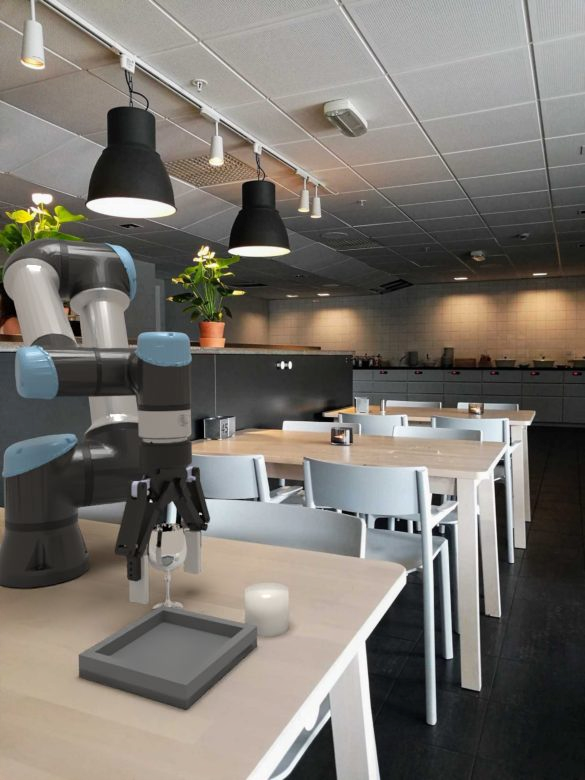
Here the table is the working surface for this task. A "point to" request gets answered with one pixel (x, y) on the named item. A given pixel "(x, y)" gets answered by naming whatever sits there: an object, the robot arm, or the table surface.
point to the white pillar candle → (267, 608)
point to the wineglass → (167, 554)
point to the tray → (169, 655)
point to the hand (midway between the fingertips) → (167, 586)
